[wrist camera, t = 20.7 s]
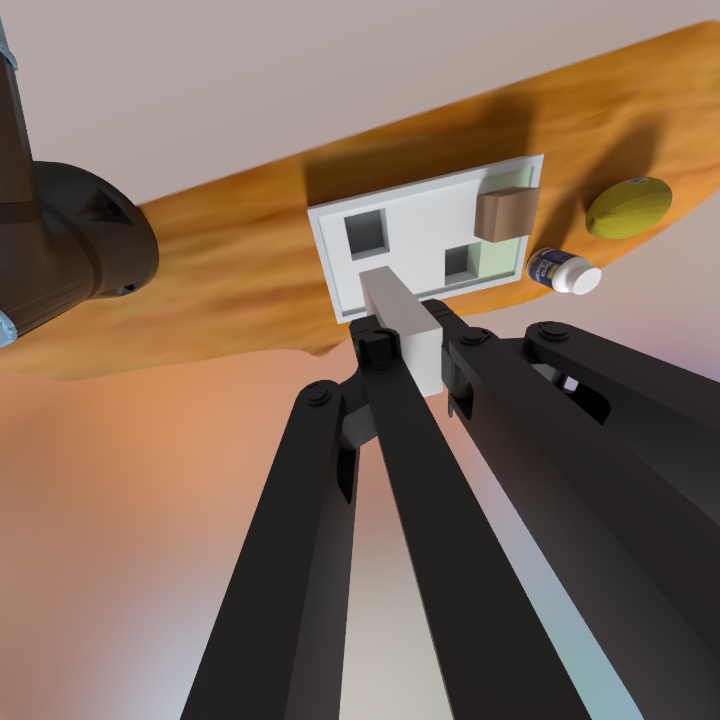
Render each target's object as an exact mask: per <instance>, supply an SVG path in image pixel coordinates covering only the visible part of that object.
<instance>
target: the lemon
mask: <svg viewBox="0 0 720 720" xmlns="http://www.w3.org/2000/svg"><path fill="white" fill-rule="evenodd" d="M671 202H672V192H671V189H670V187H669V186H668V185H667V184H666V183H665V182H663V181H662V180H660V179H656V178H652V177H638V178H633V179H629V180H626V181H623V182H620V183H618V184H616V185H614V186H612V187H610V188H609V189H607V190H606V191H604V192H603V193H602V194H601V195H600V196H599V197H598V198H597V199H595V201H594V202H593V203H592V205H591V206H590V208H589V210H588V212H587V214H586V222H585V223H586V228H587V230H588V231H589V233H590V234H591V235H593V236H594V237H597V238H602V239H609V240H611V239H622V238H627V237H631V236H634V235H636V234H639V233H641V232H643V231H645V230H647V229H649V228H650V227H652V226H653V225H655V224H656V223H657V222H658V221H660V220H661V218H662V217H663V216H664V215H665V214H666V212H667V211H668V209H669V208H670V205H671Z"/></svg>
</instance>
